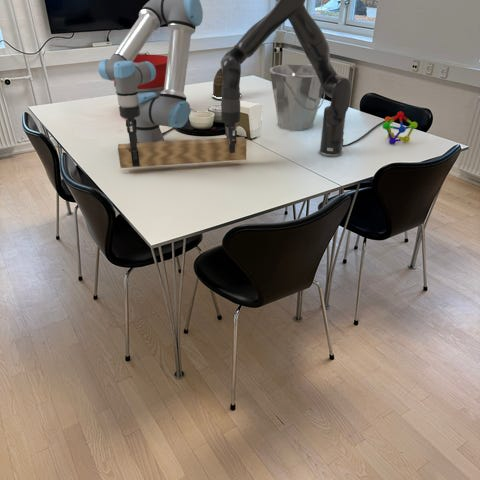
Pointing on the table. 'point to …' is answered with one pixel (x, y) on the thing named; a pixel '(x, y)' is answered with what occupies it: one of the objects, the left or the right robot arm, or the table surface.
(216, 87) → the bell
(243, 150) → the beam
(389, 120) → the educational toy
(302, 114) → the bucket
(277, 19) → the right robot arm
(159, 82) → the bucket
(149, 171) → the table surface
